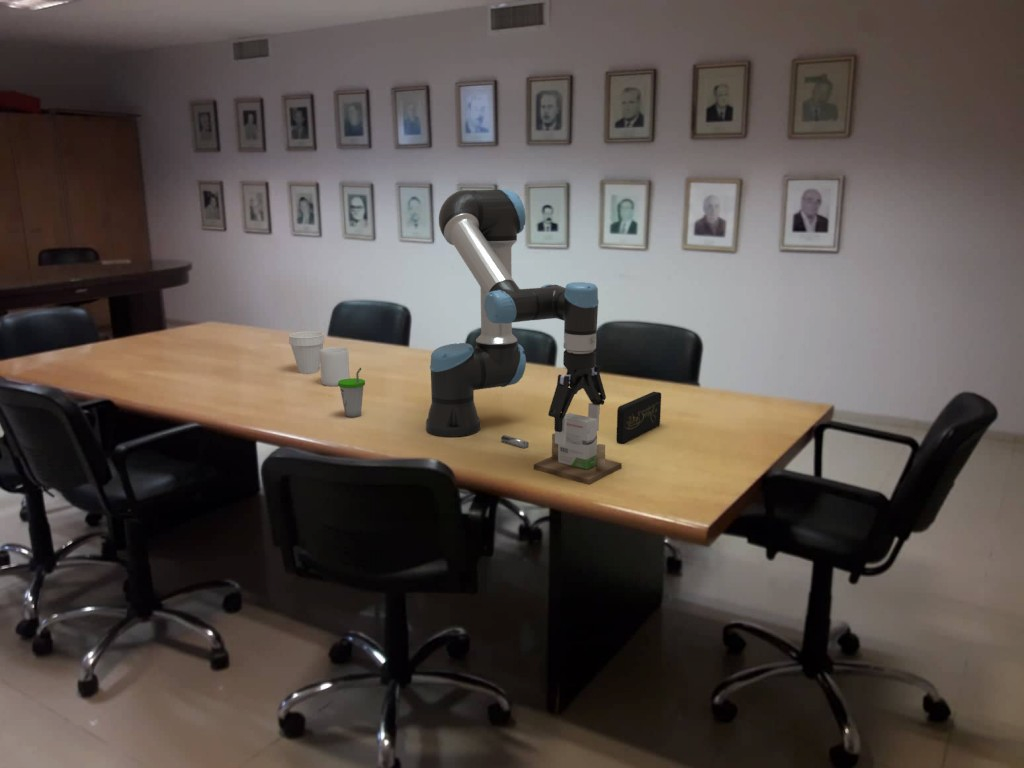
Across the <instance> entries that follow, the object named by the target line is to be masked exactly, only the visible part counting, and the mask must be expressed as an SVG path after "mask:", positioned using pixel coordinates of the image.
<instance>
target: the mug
mask: <svg viewBox="0 0 1024 768" xmlns="http://www.w3.org/2000/svg"><path fill="white" fill-rule="evenodd" d="M349 360H350V359H349V348H347V347H345V346H331V347H323V348H322V349H320V365H319V366H320V378H321V379H320V380H321V384H322V385H323V386H326V387H339V386H338V382H339V381H340V380H343V379H351V378H350V361H349Z"/></svg>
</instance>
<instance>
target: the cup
mask: <svg viewBox="0 0 1024 768" xmlns="http://www.w3.org/2000/svg"><path fill="white" fill-rule="evenodd" d="M361 370H362V367H359V368H358V370H357V371H356V374H355V376H356V378H355V377H354V378H353V377H352V378H350V379H343V380H340V381H339V382H338V386H337V387H339V388H340V389H339V390H340V395H341V400H342V404H343V410H344V414H345V415H344V416H345V417H346V418H351V419H352V418H353V419H354V418H358V417H361V416H362V408H363V399H364V397H363V396H364V386H365V385H366V380H365V379H362V378H359V374H360V372H361Z"/></svg>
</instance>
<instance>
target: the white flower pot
mask: <svg viewBox="0 0 1024 768" xmlns="http://www.w3.org/2000/svg"><path fill="white" fill-rule="evenodd" d="M288 338H289V342H288V344H289V345H290V347H291V350H292V353H293V356H294V357H293V358H294V360H295V363H296V366H297V368H298V369H297V370H298V372H299V374H303V375H305V374H306V375H308V374H316V373H318V372H319V370H320V366H321V365H320V349H323V348H324V347H323V346H324V343H325V333H324V332H322V331H321V332H320V331H316V330H315V331H313V330H311V331H309V330H305V331H297V332H293V333H289V335H288Z"/></svg>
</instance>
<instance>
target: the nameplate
mask: <svg viewBox="0 0 1024 768" xmlns="http://www.w3.org/2000/svg"><path fill="white" fill-rule="evenodd" d="M661 406H662V393H661V392H659V391H651V392H650V393H647V394H645V395H642V396H640V397H638V398H635V399H633V400H630V401H628V402H626V403H623V404H621V405H620V406H618V407H617V410H616V411H617V413H616V414H617V416H616V439H615V440H616V443H619V444H624V445H625V444H627V443H629V442H631V441H632V440H634V439H636V438H638V437H640V436H643V435H644V434H646V433H648V432H650V431H652V430H655V429H656V428H658V427H659V426H660V425H661V413H662V411H661V409H662V407H661Z"/></svg>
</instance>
